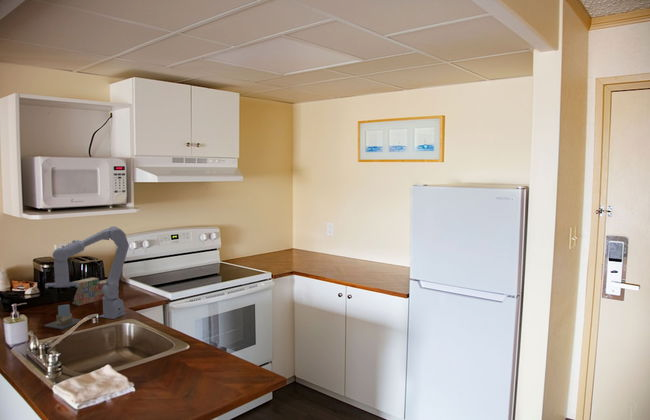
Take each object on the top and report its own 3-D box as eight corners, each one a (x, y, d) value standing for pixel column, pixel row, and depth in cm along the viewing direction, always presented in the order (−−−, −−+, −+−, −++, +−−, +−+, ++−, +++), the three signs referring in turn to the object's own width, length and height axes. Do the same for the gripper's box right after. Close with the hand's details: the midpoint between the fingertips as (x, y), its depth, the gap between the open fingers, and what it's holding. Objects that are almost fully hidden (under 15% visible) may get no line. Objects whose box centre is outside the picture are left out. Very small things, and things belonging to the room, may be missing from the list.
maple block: (72, 321, 219) (71, 313, 219) (63, 324, 215) (63, 316, 215) (65, 320, 221) (65, 312, 221) (56, 323, 217) (56, 315, 216)
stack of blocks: (110, 294, 267) (108, 273, 266) (115, 296, 264) (114, 275, 262) (72, 304, 250) (70, 281, 249) (77, 306, 246) (76, 283, 245)
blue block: (70, 314, 217) (69, 306, 217) (59, 316, 214) (58, 308, 214) (69, 312, 221) (68, 304, 220) (58, 314, 218) (57, 305, 218)
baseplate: (85, 321, 221) (85, 320, 221) (62, 329, 210) (62, 328, 210) (67, 318, 226) (67, 317, 226) (44, 326, 215) (44, 325, 215)
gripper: (81, 271, 220) (83, 299, 222) (49, 272, 219) (51, 300, 220) (74, 275, 213) (76, 303, 215) (42, 276, 212) (44, 304, 213)
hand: (63, 302), depth 217 cm, fingers open, 7 cm apart
